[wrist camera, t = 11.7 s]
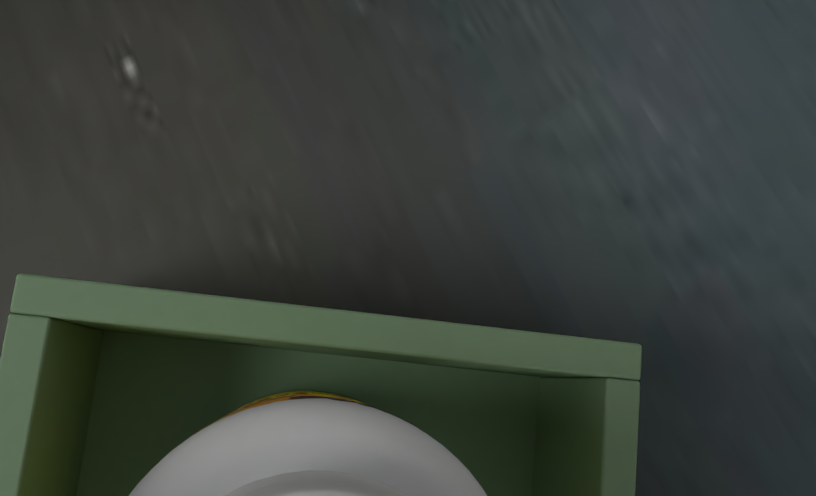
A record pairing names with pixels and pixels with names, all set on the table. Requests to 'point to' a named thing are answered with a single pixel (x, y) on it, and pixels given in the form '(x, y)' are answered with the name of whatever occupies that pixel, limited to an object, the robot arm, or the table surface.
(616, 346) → the bin
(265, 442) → the supplement bottle
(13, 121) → the table surface
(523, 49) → the table surface
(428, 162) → the table surface
